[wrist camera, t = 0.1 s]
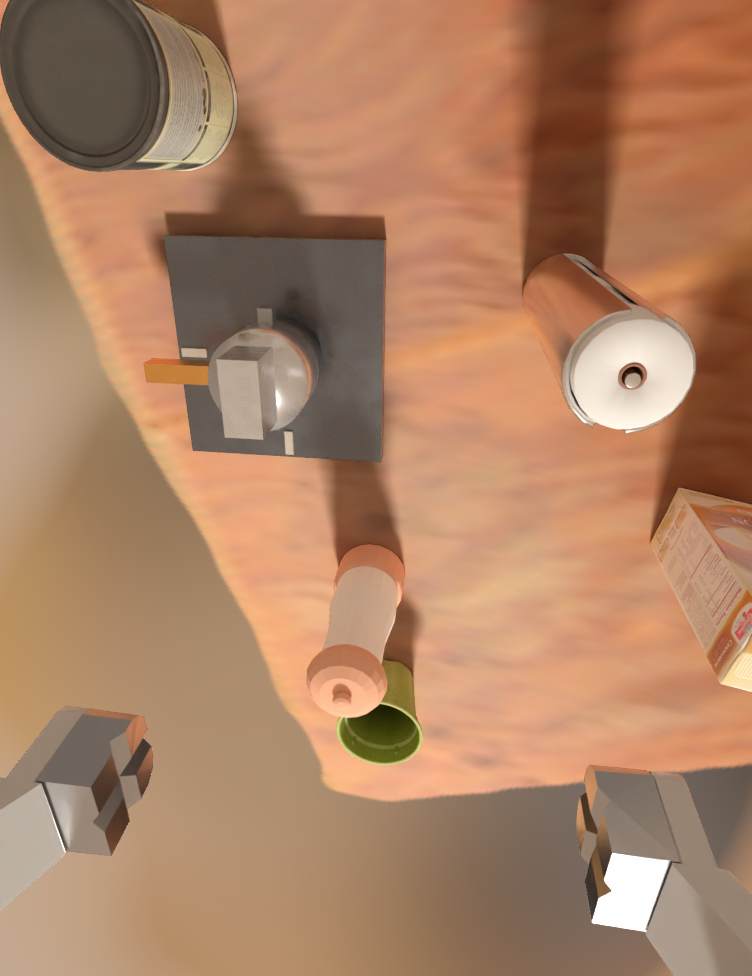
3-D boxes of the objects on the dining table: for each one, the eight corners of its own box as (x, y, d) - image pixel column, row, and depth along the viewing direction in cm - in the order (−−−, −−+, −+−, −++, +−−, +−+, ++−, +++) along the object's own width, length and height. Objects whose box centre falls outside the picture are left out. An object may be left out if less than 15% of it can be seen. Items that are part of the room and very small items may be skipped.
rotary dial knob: (316, 307, 50) (289, 331, 42) (320, 427, 55) (297, 468, 47) (152, 301, 52) (97, 323, 44) (170, 418, 56) (123, 457, 49)
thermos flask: (506, 299, 53) (536, 387, 31) (562, 235, 50) (639, 282, 28) (560, 347, 54) (627, 466, 32) (618, 288, 51) (734, 373, 29)
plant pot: (333, 670, 75) (318, 727, 67) (390, 633, 71) (381, 689, 63) (384, 716, 77) (376, 776, 70) (443, 683, 74) (440, 742, 66)
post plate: (170, 234, 54) (144, 239, 50) (386, 238, 52) (379, 244, 48) (198, 444, 63) (178, 465, 59) (382, 455, 61) (376, 477, 57)
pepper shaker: (395, 606, 69) (372, 746, 52) (332, 588, 69) (290, 722, 52) (412, 554, 66) (395, 686, 49) (347, 536, 66) (307, 661, 49)
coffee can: (159, 194, 53) (65, 200, 40) (90, 62, 49) (-38, 23, 36) (262, 137, 50) (195, 124, 37) (197, -8, 46) (98, -76, 34)
